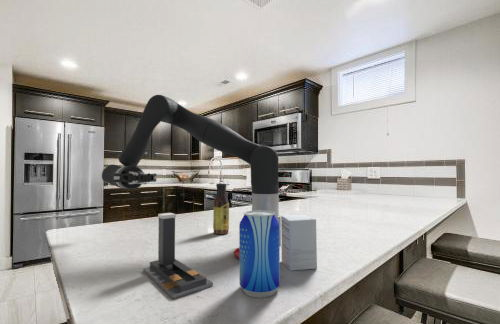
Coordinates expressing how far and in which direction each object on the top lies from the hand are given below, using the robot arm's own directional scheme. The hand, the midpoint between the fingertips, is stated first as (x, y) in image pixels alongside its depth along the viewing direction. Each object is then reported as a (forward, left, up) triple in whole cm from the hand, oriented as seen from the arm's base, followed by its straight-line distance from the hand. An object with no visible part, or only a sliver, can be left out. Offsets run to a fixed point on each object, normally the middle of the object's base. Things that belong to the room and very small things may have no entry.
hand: (145, 178), depth 72 cm
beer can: (-28, +23, -23) cm, 43 cm away
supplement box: (-41, +11, -23) cm, 48 cm away
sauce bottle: (-23, -28, -23) cm, 43 cm away
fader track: (-10, +14, -23) cm, 28 cm away
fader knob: (-7, +9, -22) cm, 25 cm away
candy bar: (-30, +7, -23) cm, 38 cm away
